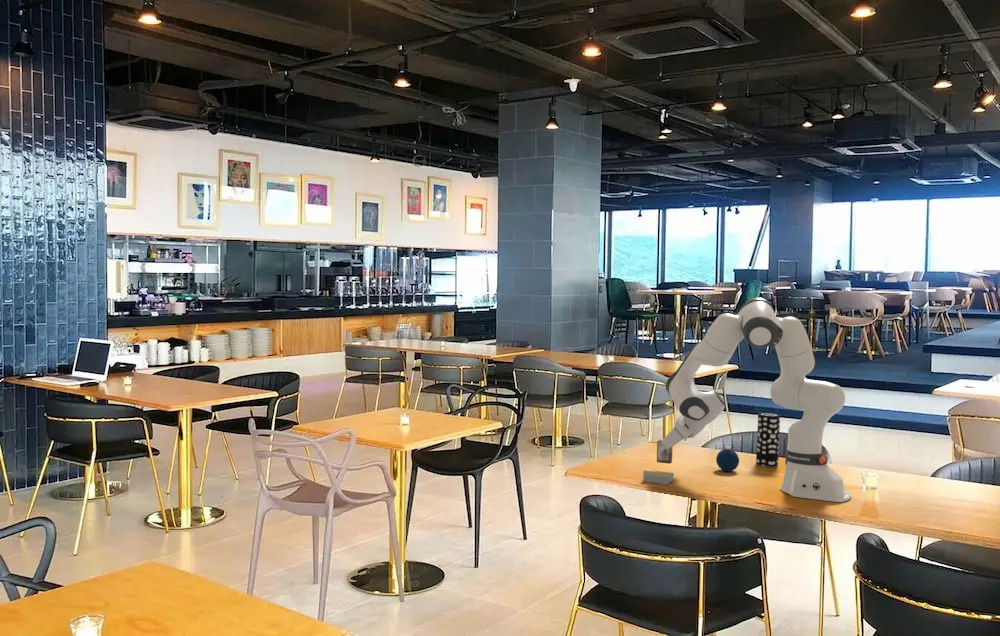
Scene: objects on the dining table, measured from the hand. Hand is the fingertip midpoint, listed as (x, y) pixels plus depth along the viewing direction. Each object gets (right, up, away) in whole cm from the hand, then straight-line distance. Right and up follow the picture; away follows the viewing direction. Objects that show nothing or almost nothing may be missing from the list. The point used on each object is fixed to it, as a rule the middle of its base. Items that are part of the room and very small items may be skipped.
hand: (661, 449), depth 310 cm
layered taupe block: (+1, -5, 0) cm, 5 cm away
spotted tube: (+46, -10, +22) cm, 52 cm away
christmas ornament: (+27, -10, +9) cm, 30 cm away
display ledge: (-3, -9, -11) cm, 15 cm away
